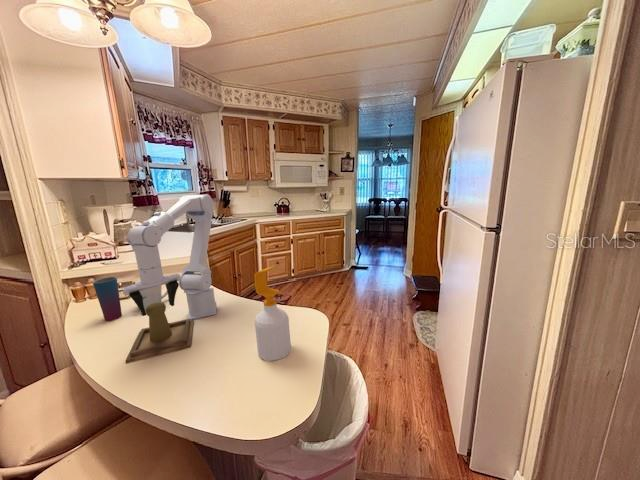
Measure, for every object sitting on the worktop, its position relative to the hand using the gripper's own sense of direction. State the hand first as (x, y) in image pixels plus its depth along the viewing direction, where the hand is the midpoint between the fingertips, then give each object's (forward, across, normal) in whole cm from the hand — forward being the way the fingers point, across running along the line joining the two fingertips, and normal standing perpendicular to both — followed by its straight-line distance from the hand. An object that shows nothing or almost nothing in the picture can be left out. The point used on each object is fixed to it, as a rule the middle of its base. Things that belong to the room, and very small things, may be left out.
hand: (158, 309), depth 80 cm
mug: (+10, -6, -31) cm, 33 cm away
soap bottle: (+10, -19, +32) cm, 38 cm away
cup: (+10, +8, -32) cm, 34 cm away
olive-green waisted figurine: (+10, 0, -1) cm, 10 cm away
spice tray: (+10, 0, 0) cm, 10 cm away
